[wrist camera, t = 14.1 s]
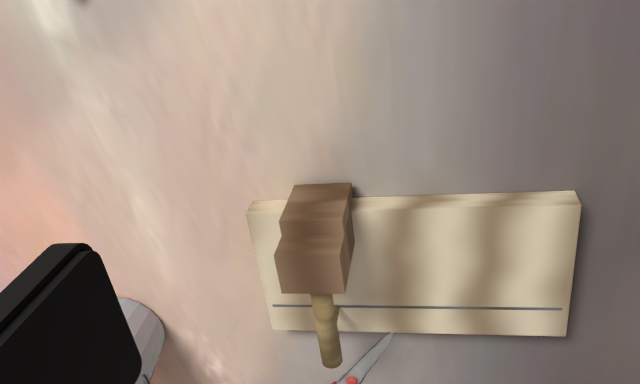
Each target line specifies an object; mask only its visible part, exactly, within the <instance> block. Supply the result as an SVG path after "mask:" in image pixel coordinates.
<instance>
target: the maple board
mask: <svg viewBox="0 0 640 384" xmlns="http://www.w3.org/2000/svg"><path fill="white" fill-rule="evenodd" d="M287 201H288V200H263V201H253V202H252V203H251V205H250V207H249V209H248V211H247V213H246V217H247V221H248V226H249V230H250V234H251V238H252V243H253V247H254V251H255V255H256V260H257V264H258V268H259V273H260V277H261V281H262V285H263V290H264V294H265V298H266V303H267V307H268V311H269V315H270V320H271V324H272V328H273V330H303V331H317V330H316V325H315V319H314V314H313V308H312V303H311V297H310V294H282V293H281V288H280V283H279V279H278V274H277V269H276V265H275V260H274V253H275V251H276V248H277V246H278V244H279V241H280V239H281V236H282V235H281V230H280V226H279V219H280V217H281V215H282V213H283V210H284V208H285V206H286V203H287ZM580 213H581V203H580V201H579V199H578V197H577V195H576V193H575V191H548V192H516V193H484V194H453V195H421V196H390V197H358V198H352V203H351V214H352V223H353V231H354V239H355V245H354V250H353V255H352V260H351V266H350V271H349V276H348V281H347V286H346V291H345V294H332V295H333V302H334V306H338V307H339V308H340V310H339V315H338V320H337V327H338V331H348V332H392V333H437V334H481V335H526V336H566V331H567V322H568V314H569V306H570V297H571V289H572V280H573V272H574V264H575V255H576V247H577V239H578V230H579V222H580Z"/></svg>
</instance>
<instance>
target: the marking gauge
mask: <svg viewBox="0 0 640 384" xmlns="http://www.w3.org/2000/svg"><path fill="white" fill-rule="evenodd" d="M352 198H353V193H352V185H351V183H332V184H306V185H294V187H293V190H292V192H291V194H290V197H289V199H288V201H287V203H286V206H285V208H284V210H283V213H282V215H281V217H280V219H279V226H280V230H281V235H282V236H281V239H280V241H279V244H278V246H277V248H276V251H275V253H274V260H275V265H276V269H277V274H278V279H279V283H280V288H281V293H282V294H310V297H311V303H312V308H313V314H314V319H315V325H316V330H317V336H318V341H319V347H320V352H321V358H322V363H323V365H324V366H325V367H327V368H336V367H338V366H340V365H341V363H342V353H341V347H340V340H339V334H338V327H337V320H338V315H339V310H340V308H339V307H338V306H334V302H333V295H332V294H345V291H346V286H347V281H348V276H349V271H350V266H351V260H352V255H353V250H354V245H355V239H354V231H353V223H352V214H351V203H352Z"/></svg>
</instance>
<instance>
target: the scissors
mask: <svg viewBox="0 0 640 384" xmlns="http://www.w3.org/2000/svg"><path fill="white" fill-rule="evenodd" d="M393 334H394V333H392V332H389V333H388V334H387V335H386V336H385V337H383V338H382V339H381V340H380V341H379V342H378V343H377V344H376V345H375V346H373V347H372V349H371V350H369V351H368V352H367V354H366V355H364V357H363V358H362V359H360V361H359V362H358V363H357V364H356V365H355V366H354V367H353V368H351V369H350V370H349V371H348V373H346V374H345V375H343V377H342V378H341V379H340V380H339V381H338V382H333V383H332V384H359V383H360V382H361V381H362V379H363V377H364V376H365V374H366V373H367V372H368V371H369V369H370V368H371V367H372V365H373V364H374V363H375V362H376V360H377V359H378V358H379V357H380V355H381V354H382V353H383V351H384V350H385V349H386V347H387V346H388V344H389V342H390V340H391V338H392V336H393Z"/></svg>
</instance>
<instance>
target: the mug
mask: <svg viewBox="0 0 640 384" xmlns="http://www.w3.org/2000/svg"><path fill="white" fill-rule="evenodd" d="M117 298H118V301H119V303H120V306H121V308H122V311H123V313H124V316H125V318H126V321H127V323H128V326H129V328H130V331H131V333H132V335H133V338H134V340H135V343H136V345H137V348H138V350H139V353H140V355H141V359H142V368H141V373H140V375H139V378H138V379H137V381H136V383H135V384H149V383H150V381H151V378H152V375H153V372H154V369H155V367H156V364H157V361H158V358H159V355H160V353H161V350H162V347H163V344H164V340H165V333H164V327H163V325H162V323H161V322H160V320H159V318H158V317H157V316H156V315H155V314H154V313H153V312H152V311H151V310H150V309H149V308H147V307H146V306H144V305H143V304H141V303H139V302H136V301H134V300H131V299H128V298H121V297H117Z"/></svg>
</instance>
